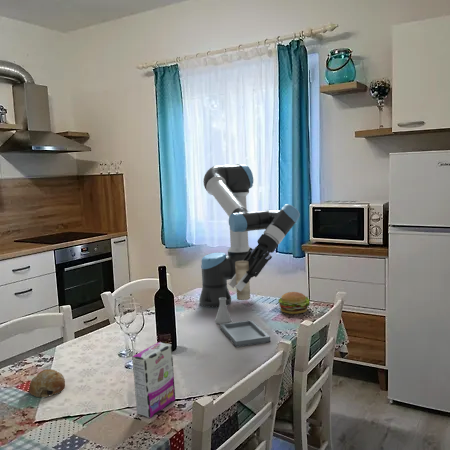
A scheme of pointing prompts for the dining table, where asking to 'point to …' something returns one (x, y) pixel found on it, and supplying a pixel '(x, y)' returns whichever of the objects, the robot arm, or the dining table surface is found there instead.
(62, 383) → the bread roll
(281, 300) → the food
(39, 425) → the dining table surface
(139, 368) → the candy bar box
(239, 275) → the birch peg
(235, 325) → the tray
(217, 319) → the flask
